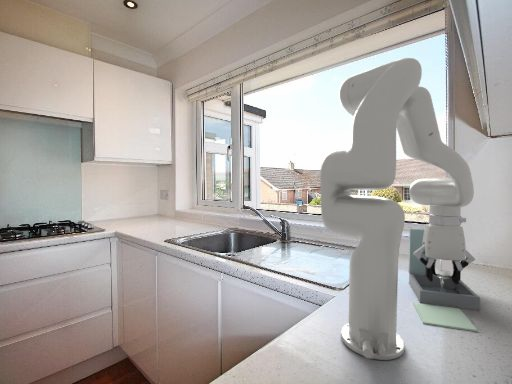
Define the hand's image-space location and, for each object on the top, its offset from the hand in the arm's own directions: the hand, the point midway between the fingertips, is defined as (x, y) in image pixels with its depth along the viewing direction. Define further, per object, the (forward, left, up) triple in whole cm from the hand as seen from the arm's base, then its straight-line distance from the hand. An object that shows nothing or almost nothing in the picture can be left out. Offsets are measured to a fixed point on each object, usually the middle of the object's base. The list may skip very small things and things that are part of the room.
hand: (442, 280), depth 81 cm
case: (+2, 0, -5) cm, 5 cm away
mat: (-13, +4, -5) cm, 14 cm away
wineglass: (0, 0, -5) cm, 5 cm away
